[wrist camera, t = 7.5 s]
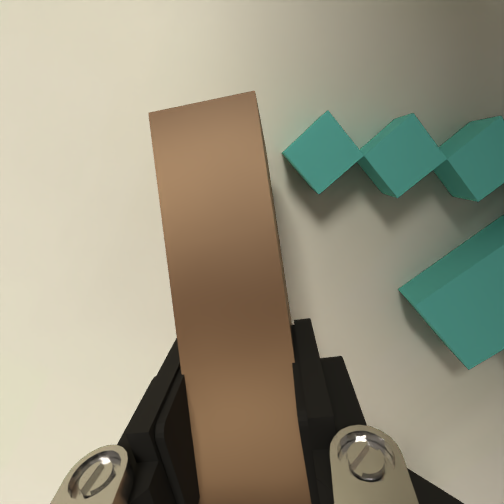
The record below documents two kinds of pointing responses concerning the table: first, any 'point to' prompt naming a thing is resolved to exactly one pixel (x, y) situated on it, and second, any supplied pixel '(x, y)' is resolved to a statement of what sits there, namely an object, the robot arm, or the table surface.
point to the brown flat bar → (229, 301)
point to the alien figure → (459, 185)
